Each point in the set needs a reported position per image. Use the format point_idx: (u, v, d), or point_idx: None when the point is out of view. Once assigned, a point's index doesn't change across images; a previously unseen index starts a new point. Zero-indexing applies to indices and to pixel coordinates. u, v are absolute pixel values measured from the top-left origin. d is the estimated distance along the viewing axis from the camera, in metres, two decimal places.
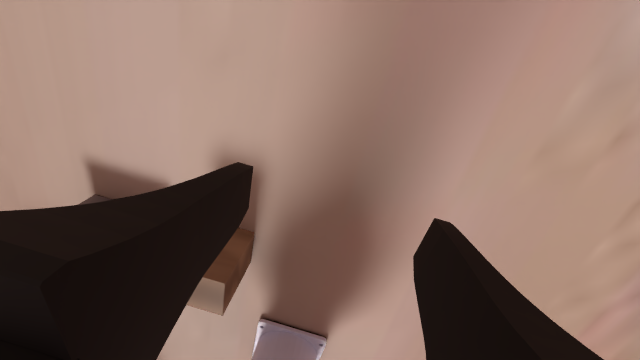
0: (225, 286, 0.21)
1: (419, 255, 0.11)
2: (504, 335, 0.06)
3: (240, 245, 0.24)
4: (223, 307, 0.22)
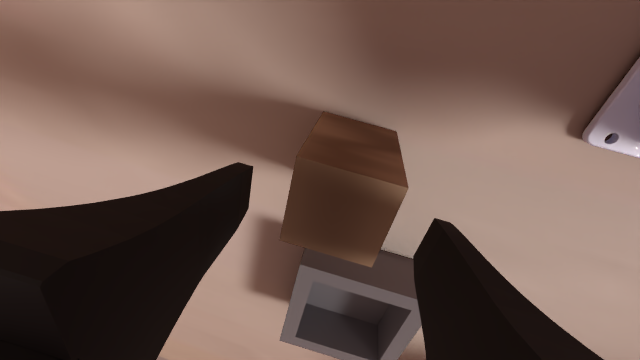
0: (311, 158, 0.10)
1: (419, 255, 0.11)
2: (504, 334, 0.06)
3: None
4: (381, 179, 0.10)
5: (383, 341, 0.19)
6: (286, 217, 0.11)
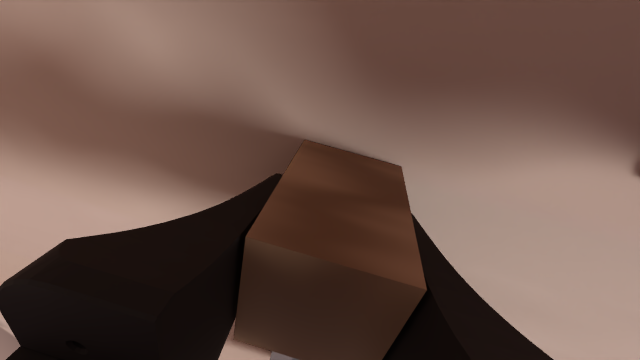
0: (270, 238, 0.06)
1: None
2: (431, 313, 0.06)
3: None
4: (382, 273, 0.06)
5: None
6: (239, 314, 0.07)
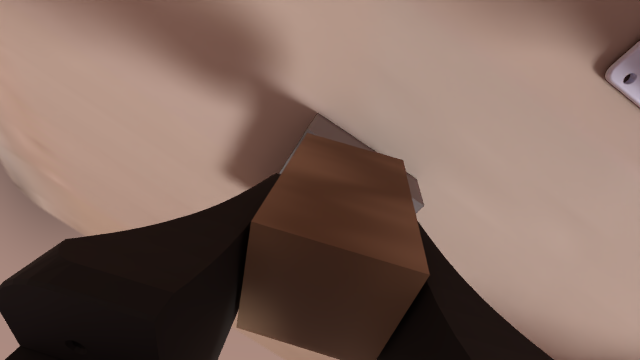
0: (275, 223, 0.06)
1: None
2: (431, 313, 0.06)
3: None
4: (386, 258, 0.06)
5: None
6: (243, 301, 0.07)
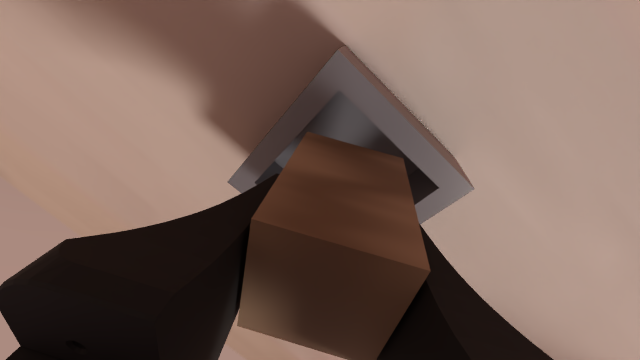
0: (275, 220, 0.06)
1: None
2: (431, 313, 0.06)
3: None
4: (386, 255, 0.06)
5: None
6: (244, 299, 0.07)
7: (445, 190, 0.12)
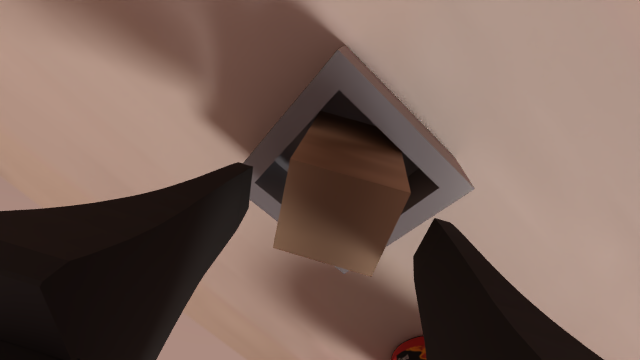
0: (306, 161, 0.09)
1: (419, 255, 0.11)
2: (504, 335, 0.06)
3: None
4: (381, 183, 0.09)
5: None
6: (280, 223, 0.10)
7: (445, 190, 0.12)
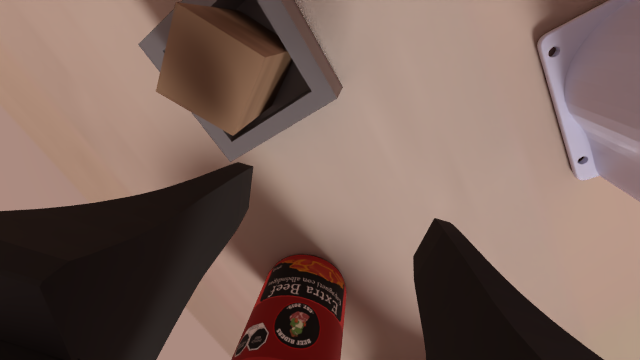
0: (190, 9, 0.11)
1: (419, 255, 0.11)
2: (504, 334, 0.06)
3: None
4: (245, 44, 0.11)
5: (250, 128, 0.17)
6: (163, 67, 0.12)
7: (316, 94, 0.15)
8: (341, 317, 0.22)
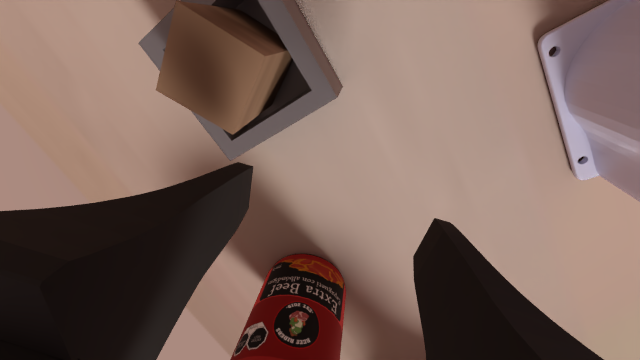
0: (190, 8, 0.11)
1: (419, 255, 0.11)
2: (504, 335, 0.06)
3: None
4: (245, 43, 0.11)
5: (250, 127, 0.17)
6: (163, 65, 0.12)
7: (316, 94, 0.15)
8: (341, 316, 0.22)
